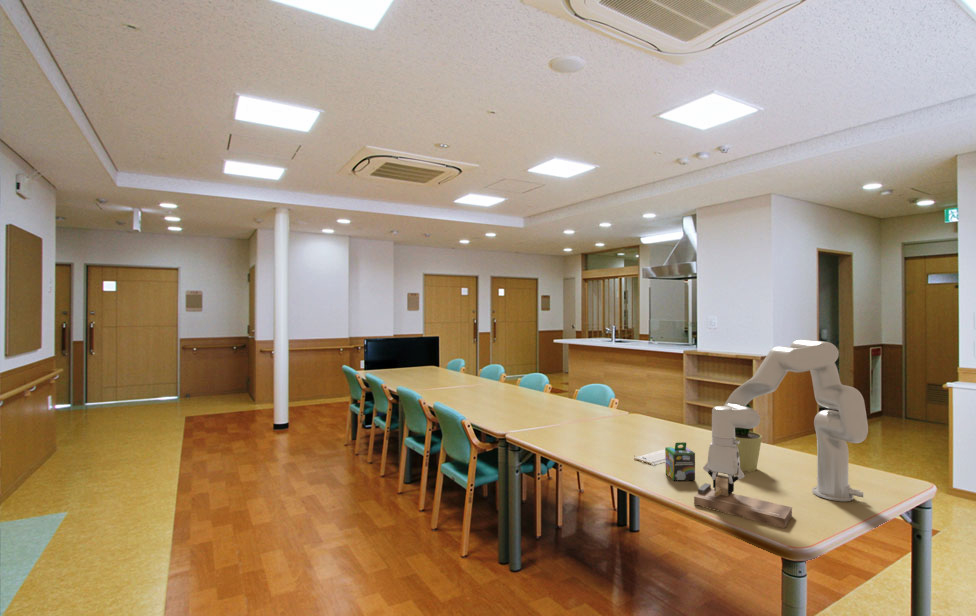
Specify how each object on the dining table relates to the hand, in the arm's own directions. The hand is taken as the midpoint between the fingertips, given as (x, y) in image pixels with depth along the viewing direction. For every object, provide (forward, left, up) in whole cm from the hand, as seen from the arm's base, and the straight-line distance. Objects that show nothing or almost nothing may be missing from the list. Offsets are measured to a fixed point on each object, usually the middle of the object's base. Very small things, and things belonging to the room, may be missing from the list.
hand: (723, 491), depth 176 cm
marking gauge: (0, +3, -3) cm, 4 cm away
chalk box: (+21, -15, -4) cm, 26 cm away
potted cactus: (+5, -45, -4) cm, 46 cm away
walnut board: (-7, +4, -4) cm, 9 cm away
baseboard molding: (+36, -39, -5) cm, 53 cm away
